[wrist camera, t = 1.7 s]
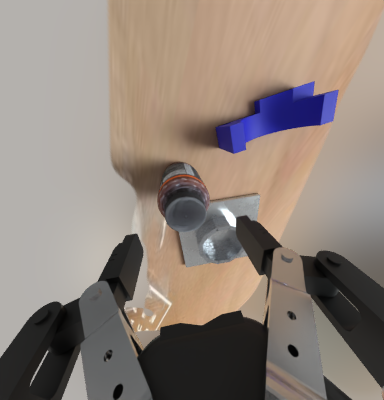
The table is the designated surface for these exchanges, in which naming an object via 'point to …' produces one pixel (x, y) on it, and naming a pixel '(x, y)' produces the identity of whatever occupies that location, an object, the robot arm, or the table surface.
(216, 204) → the duct panel
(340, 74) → the table surface
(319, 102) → the blue notched bracket
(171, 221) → the supplement bottle
